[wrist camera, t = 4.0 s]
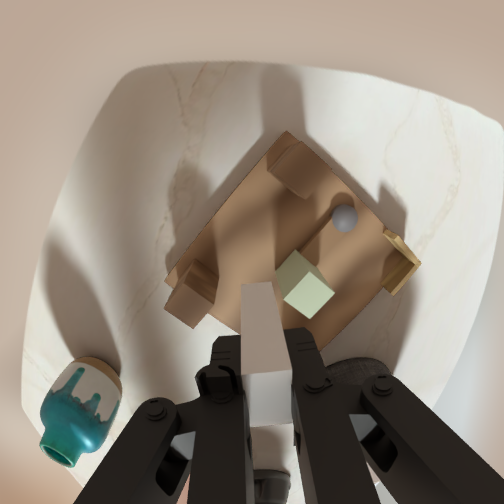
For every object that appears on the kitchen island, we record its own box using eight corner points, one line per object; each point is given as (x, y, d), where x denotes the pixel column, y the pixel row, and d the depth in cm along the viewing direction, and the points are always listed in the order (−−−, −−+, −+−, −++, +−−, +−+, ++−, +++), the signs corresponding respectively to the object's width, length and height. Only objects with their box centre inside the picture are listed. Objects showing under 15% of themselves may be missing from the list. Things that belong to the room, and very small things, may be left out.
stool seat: (402, 250, 34) (440, 274, 26) (295, 362, 39) (307, 405, 30) (283, 132, 30) (299, 120, 21) (168, 275, 34) (146, 309, 26)
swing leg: (360, 217, 31) (389, 231, 24) (297, 289, 33) (309, 319, 26) (340, 197, 30) (366, 206, 23) (275, 271, 32) (283, 299, 26)
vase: (73, 375, 40) (28, 450, 21) (77, 335, 37) (16, 416, 19) (124, 401, 41) (92, 486, 23) (134, 364, 39) (93, 462, 20)
